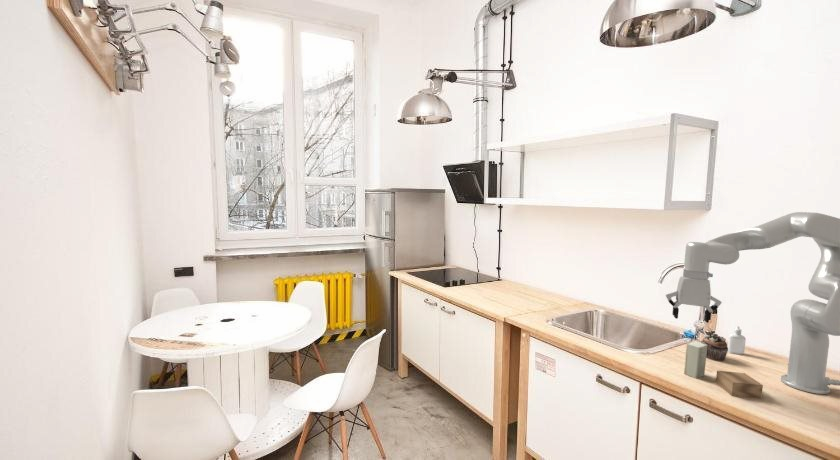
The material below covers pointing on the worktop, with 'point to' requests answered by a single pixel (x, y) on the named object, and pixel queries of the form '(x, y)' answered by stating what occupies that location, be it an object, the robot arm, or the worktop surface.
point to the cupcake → (715, 347)
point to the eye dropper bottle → (736, 342)
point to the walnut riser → (739, 384)
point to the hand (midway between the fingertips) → (690, 319)
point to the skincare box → (695, 359)
